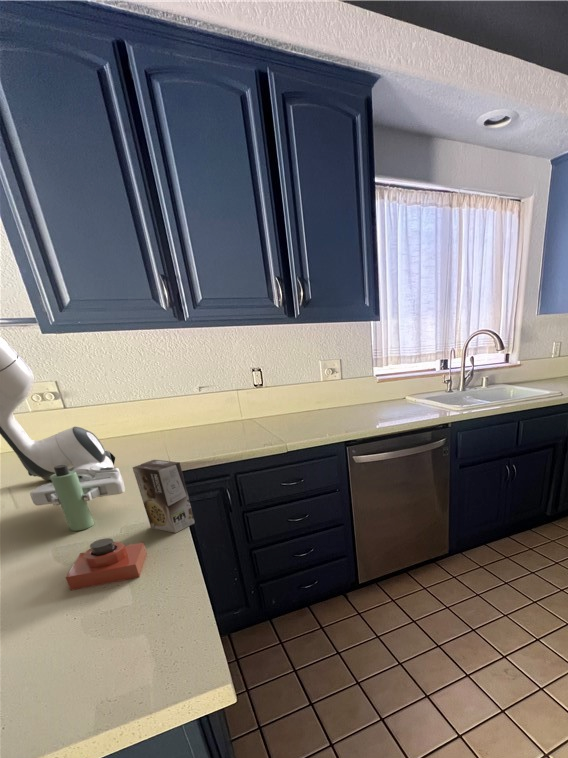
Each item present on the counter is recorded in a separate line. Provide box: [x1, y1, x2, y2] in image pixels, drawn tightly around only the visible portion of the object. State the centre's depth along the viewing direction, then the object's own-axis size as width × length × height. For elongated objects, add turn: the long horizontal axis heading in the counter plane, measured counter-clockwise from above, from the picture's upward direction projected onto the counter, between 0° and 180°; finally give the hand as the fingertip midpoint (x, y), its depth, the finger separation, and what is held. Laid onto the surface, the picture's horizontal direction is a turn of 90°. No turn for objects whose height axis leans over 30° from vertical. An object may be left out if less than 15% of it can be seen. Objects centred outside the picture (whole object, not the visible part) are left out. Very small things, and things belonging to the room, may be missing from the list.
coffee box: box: [132, 459, 196, 534], centre depth 104 cm, size 9×6×16 cm
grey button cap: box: [89, 537, 116, 556], centre depth 86 cm, size 4×4×2 cm
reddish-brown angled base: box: [65, 541, 148, 591], centre depth 87 cm, size 12×10×5 cm
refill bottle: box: [50, 465, 95, 532], centre depth 105 cm, size 5×5×16 cm
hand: (71, 500), depth 105 cm, fingers closed on refill bottle, 5 cm apart
